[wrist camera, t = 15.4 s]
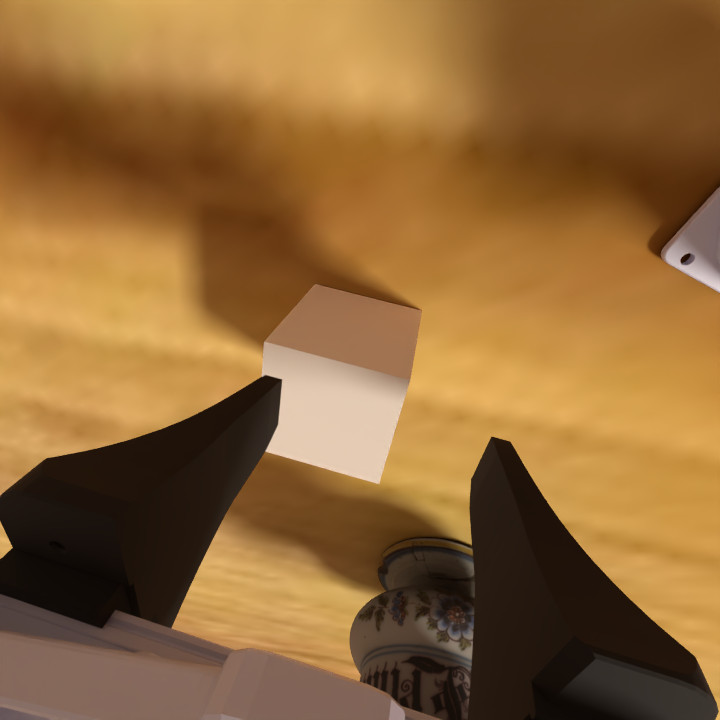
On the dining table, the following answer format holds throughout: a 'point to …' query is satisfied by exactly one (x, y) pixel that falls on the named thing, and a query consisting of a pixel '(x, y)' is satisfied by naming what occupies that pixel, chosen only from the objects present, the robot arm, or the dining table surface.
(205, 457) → the robot arm
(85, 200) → the dining table surface
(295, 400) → the beige block
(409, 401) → the dining table surface
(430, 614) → the apothecary jar
